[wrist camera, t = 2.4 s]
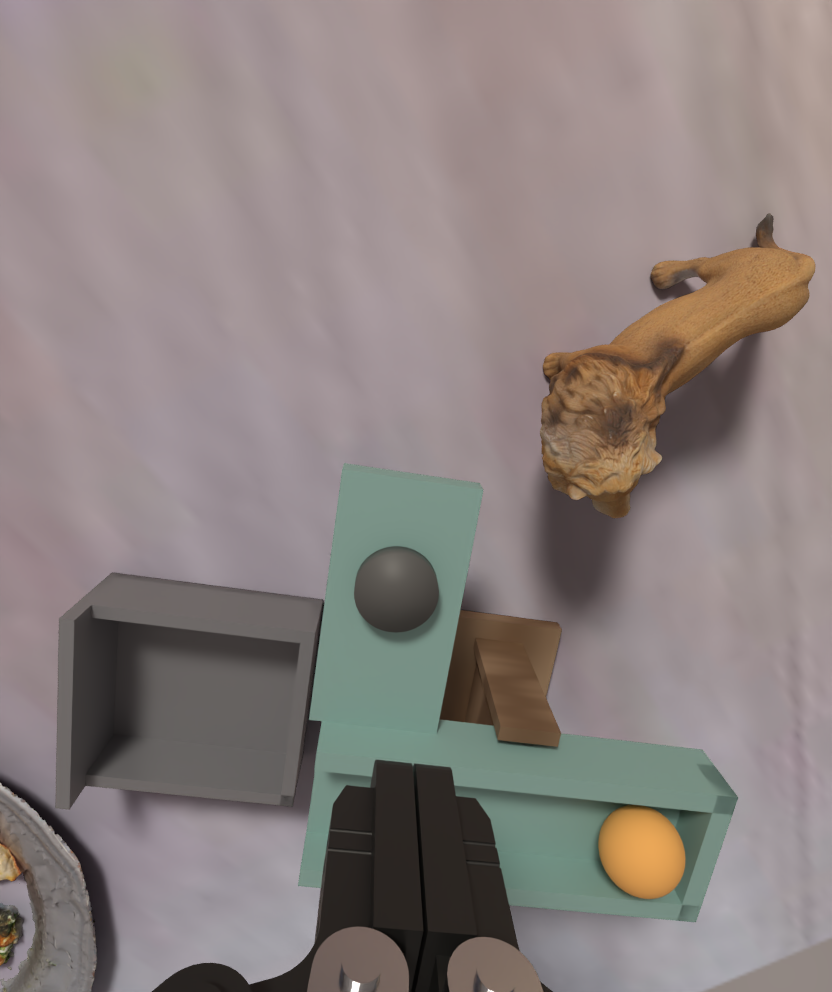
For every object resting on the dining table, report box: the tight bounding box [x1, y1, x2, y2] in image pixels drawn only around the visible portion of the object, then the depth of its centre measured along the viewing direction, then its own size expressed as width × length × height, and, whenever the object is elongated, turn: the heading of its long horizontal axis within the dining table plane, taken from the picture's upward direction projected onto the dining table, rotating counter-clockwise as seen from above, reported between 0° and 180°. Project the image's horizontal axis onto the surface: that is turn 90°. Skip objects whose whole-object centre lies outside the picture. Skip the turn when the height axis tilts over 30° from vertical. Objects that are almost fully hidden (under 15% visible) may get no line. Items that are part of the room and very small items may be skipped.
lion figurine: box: [540, 213, 815, 518], centre depth 24 cm, size 15×5×9 cm, turn 136°
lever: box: [298, 463, 738, 922], centre depth 24 cm, size 16×16×3 cm
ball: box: [598, 805, 686, 899], centre depth 24 cm, size 3×3×3 cm
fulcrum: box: [439, 610, 562, 747], centre depth 29 cm, size 6×10×8 cm, turn 171°
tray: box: [55, 573, 323, 809], centre depth 29 cm, size 10×9×5 cm
